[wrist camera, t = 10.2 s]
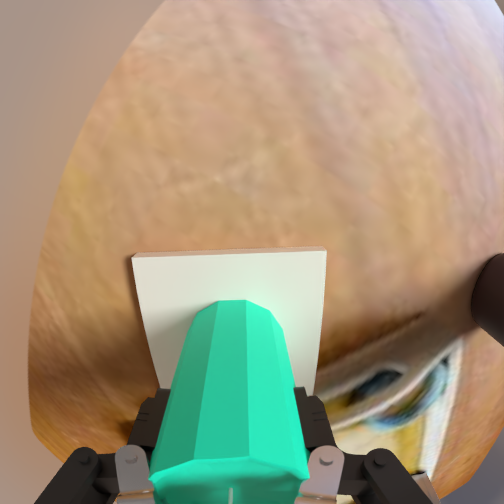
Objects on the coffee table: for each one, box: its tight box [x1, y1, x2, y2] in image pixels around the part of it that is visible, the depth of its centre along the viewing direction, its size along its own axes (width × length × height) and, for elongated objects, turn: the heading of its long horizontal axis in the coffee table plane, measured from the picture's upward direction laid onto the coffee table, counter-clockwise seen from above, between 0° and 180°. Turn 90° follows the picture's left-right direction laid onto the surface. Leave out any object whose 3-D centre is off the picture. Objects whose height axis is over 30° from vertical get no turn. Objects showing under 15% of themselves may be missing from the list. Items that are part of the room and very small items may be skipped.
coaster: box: [132, 246, 327, 396], centre depth 17 cm, size 11×11×1 cm
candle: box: [148, 300, 311, 504], centre depth 11 cm, size 6×6×12 cm
